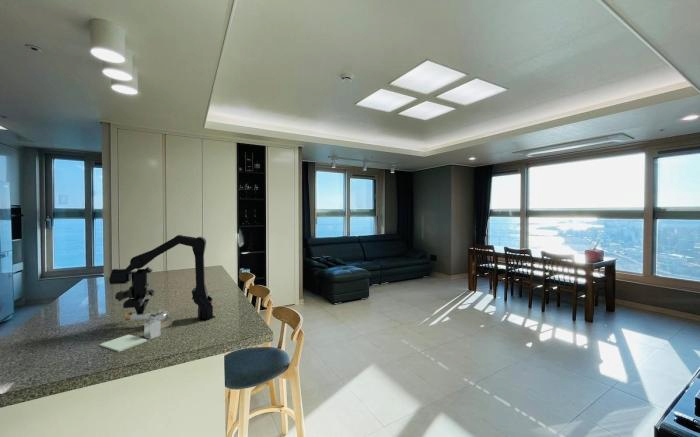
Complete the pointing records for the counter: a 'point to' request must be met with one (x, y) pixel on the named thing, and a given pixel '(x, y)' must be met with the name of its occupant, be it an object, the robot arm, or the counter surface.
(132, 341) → the mat
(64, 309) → the counter surface
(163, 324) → the base
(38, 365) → the counter surface
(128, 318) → the crank handle
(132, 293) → the robot arm
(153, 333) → the grey rectangular block
